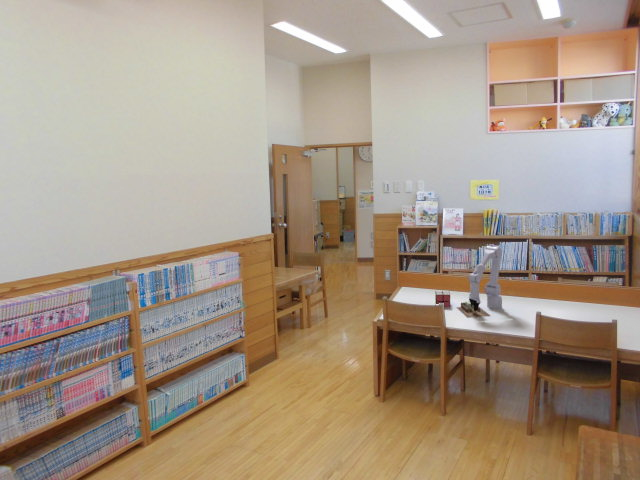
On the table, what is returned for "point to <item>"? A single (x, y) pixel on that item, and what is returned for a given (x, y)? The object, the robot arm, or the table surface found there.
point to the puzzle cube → (442, 298)
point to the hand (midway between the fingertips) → (474, 309)
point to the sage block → (469, 307)
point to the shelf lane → (469, 313)
